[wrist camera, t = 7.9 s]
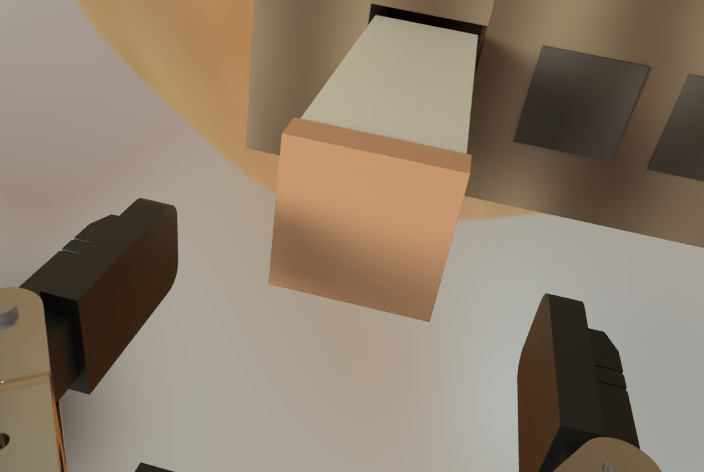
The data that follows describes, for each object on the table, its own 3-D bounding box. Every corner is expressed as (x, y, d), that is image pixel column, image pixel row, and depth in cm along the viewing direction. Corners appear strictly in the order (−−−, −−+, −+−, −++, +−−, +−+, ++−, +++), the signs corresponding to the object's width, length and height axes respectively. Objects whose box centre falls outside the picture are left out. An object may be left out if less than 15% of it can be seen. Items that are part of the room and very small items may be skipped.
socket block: (803, -14, 27) (876, 18, 22) (699, 191, 32) (738, 257, 27) (301, -105, 29) (258, -95, 23) (283, 103, 34) (245, 149, 29)
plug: (481, 32, 24) (470, 173, 14) (455, 134, 26) (429, 321, 16) (373, 11, 24) (282, 133, 14) (357, 113, 27) (268, 284, 16)
